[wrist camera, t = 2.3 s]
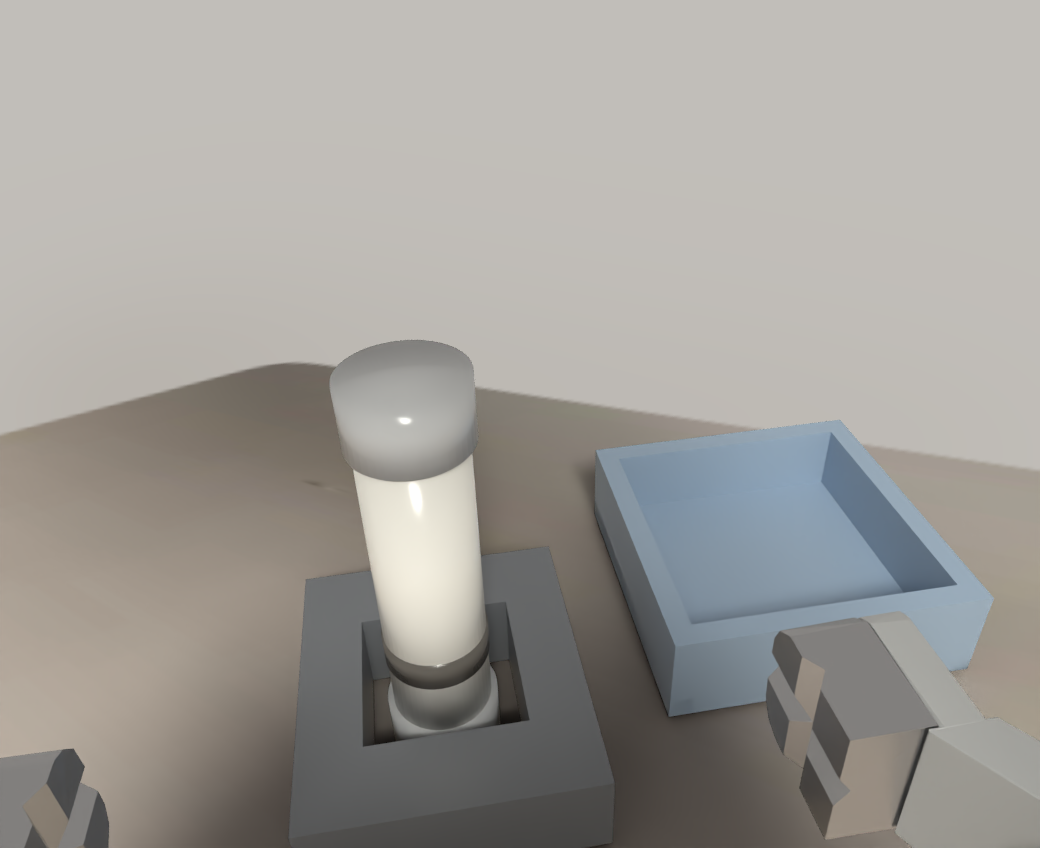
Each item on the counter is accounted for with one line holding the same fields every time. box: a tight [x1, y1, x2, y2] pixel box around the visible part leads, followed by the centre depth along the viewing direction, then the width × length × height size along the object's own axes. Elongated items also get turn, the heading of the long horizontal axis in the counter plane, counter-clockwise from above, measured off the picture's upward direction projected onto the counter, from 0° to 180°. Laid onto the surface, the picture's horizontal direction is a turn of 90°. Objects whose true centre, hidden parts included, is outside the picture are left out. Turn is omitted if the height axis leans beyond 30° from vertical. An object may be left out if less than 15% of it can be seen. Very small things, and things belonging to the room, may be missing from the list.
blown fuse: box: [329, 340, 500, 741], centre depth 25 cm, size 4×4×14 cm
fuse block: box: [288, 546, 615, 848], centre depth 28 cm, size 9×10×3 cm
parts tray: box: [595, 420, 994, 717], centre depth 33 cm, size 11×11×4 cm
